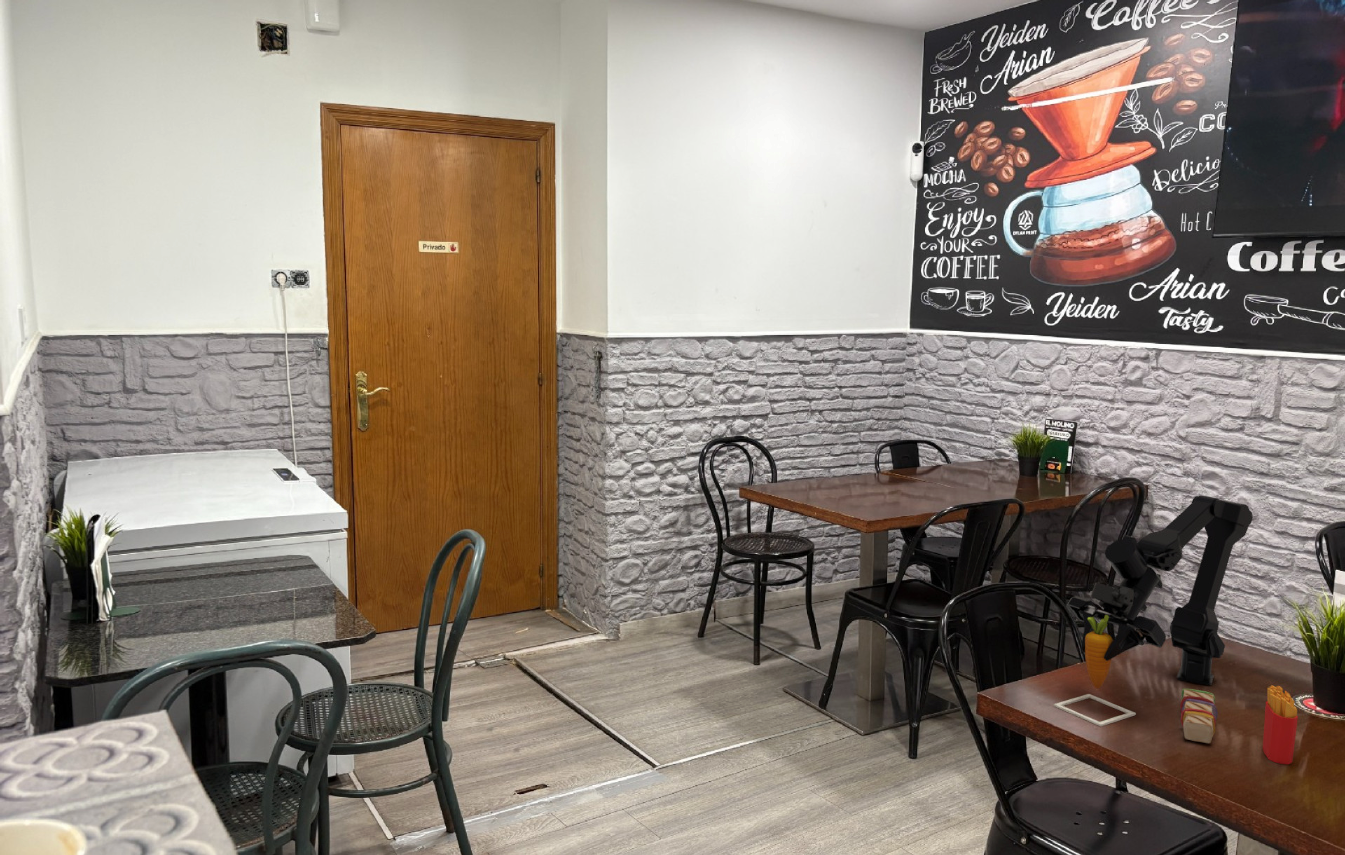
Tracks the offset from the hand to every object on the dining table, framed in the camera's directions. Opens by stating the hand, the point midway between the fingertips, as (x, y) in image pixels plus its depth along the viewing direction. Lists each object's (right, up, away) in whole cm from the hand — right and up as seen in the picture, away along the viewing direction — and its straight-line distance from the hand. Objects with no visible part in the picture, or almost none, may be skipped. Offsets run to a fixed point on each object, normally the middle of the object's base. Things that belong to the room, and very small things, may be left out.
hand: (1093, 655), depth 188 cm
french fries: (+26, -14, -16) cm, 33 cm away
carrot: (+1, -7, +1) cm, 7 cm away
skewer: (+19, -13, -3) cm, 23 cm away
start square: (+1, -11, +2) cm, 12 cm away
